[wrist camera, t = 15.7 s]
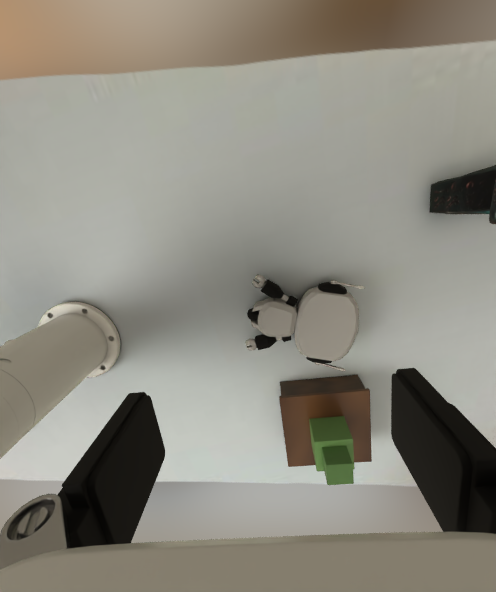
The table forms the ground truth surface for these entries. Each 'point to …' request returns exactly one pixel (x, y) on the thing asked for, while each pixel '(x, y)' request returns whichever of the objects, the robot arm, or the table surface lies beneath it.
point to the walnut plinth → (324, 414)
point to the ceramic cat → (466, 194)
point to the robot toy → (307, 320)
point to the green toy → (333, 449)
